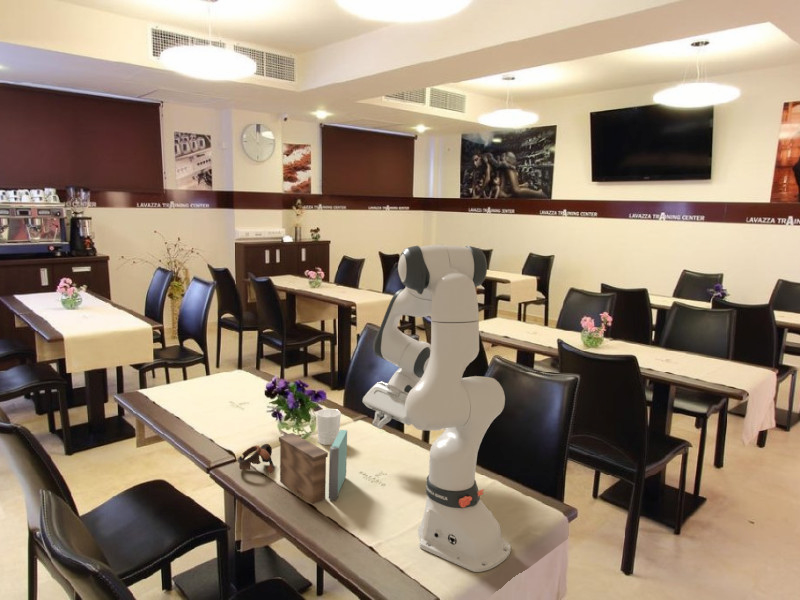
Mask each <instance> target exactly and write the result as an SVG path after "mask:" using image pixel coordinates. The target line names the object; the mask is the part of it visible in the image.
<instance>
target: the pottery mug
mask: <svg viewBox="0 0 800 600" xmlns="http://www.w3.org/2000/svg"><path fill="white" fill-rule="evenodd" d="M272 453H273V448H272V446H271V445H270V444H269V443H265V444H262V445H261V446H260V445H253V446H250V447H249V448H247V449H246V450H244V451H243V452H242V454H241V455H240V456H239V457H238V458H237V463H238V464H239V465H238V467H239V469H240V470H245V469H247V470H250V471H251V464H253V465H260V464H261V463H262V462H263V463H269V465H268V466H267V468H266V470H267V472H268V475H269V474H270V475H272V474H273V472H274V470H275V465H274V463H273V460H272V455H273V454H272ZM251 454H252V455H251ZM249 455H251V456H249ZM248 456H249V457H248ZM247 457H248V458H247ZM260 458H261V460H262V462H261V460H260Z"/></svg>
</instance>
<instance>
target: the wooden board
mask: <svg viewBox="0 0 800 600" xmlns="http://www.w3.org/2000/svg"><path fill="white" fill-rule="evenodd" d="M278 442H280V443H279V448H280V449H279V450H280V451H279V452H280V457H279V459H280V460H279V461H280V462H279V466H280V467H279V481H280V482H281V483H282V482H283V483H282V484H284V486H287V487H288V488H289V489H291V490H292V491H293V492H295V493H297V494H298V495H300V496H301V497H303V498H304V499H306V501H308V502H310V503H311V504H316V503H318V502H321V501H323V500H325V499H326V483H327V482H326V479H327V476H326V475H327V473H326V472H327V458H329V456H328V455H329V453H328V452H329V451H328V452H327V451H325V450H324V449H323V448H320V447H319V446H317V445H315V444H313V443H312V442H310V441H308V440H306V439H304V438H303V437H300V436H299V435H298V434H295V433H294V432H292V433H287V434H284V435H282V436H278Z"/></svg>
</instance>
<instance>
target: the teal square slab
mask: <svg viewBox="0 0 800 600" xmlns="http://www.w3.org/2000/svg"><path fill="white" fill-rule="evenodd" d="M347 448H348V430H347V429H339V433H338V435H337V437H336V439H335V441H334V443H333V444H332V445H330V447H329V456H328V458H329V464H328V465H329V467H328V499H329V500H330V501H331V500H332V501H333V500H334V501H335V500H337V499H338V498H339V494H340V491H341V488H342V487H343V484H344V481H345V480H346V477H347V455H348V453H347V452H348V451H347V450H348V449H347Z"/></svg>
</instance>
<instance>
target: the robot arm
mask: <svg viewBox="0 0 800 600" xmlns="http://www.w3.org/2000/svg"><path fill="white" fill-rule="evenodd" d="M397 271H398V276H399V279H400V282H401V284H403V286H405V288H401V289H398V291H396V292H395V293H394V295H393V296H392V298H391V299H390V301H389V304H388V306H387V308H386V311H385V314H384V316H383V319H382V321H381V324H380V327H379V329H378V331H377V333H376V335H375V336H374V339H373V342H372V349H373V352H374V354H375V355H374V356H376V357H377V358H379V359H383V360H384V361H387V362H389V363H391V364H392V365H394V366H396V367H397V368H398V369H397V370H395V371H394V373H393V374H392V376H391V378H390V379H389V381H388V382H385V381H379V382H376V383H375V384H374V385H373V386H372V387H370V389H369V390H368V391H367V392H366V393H365V395H364V396H363V397H362V403H363V404H364V405H365V407H366V408H367V409H371V410H372V411H375V412H374V419H373V420H372V423H371V424H372V425H373V426H374V427H375V428H378V429H379V430H381V429H382V428H383V427H384V426H385V425H387V424H388V423H389V422H391V420H392V419H393V420H395V421H398V422H399V423H402V424H404V425H406V426H413V428H415V429H416V430H419V431H430V432H431V431H432V432H433V431H434V432H436V431H437V432H438V431H442V430H444V431H443V432H442V433H441V435H440V436H438V437H437V438H436V439H435V440H434V441H433V443H432V444H431V446H430V449H429V463H428V464H429V465H428V475H427V478H426V482H425V483H426V484H425V494H426V502H425V508H424V513H423V517H422V520H421V523H420V526H419V529H418V535H419V537H420V541H419V548H420V549H421V550H424V551H426V552H428V553H430V554H433V555H435V556H438V557H439V558H442V559H444V560H446V561H448V562H450V563H452V564H455V565H457V566H460V567H461V568H464V569H466V570H469V571H471V572H474V573H481V572H485V571H489V570H491V569H493V568H495V567H497V566H499V565H500V564H501V563H503V562H504V561H505V560H506V559H507V558H508V557H509V556H510V554H511V551H512V550H511V544H510V543H509V541H506V540H505V539H504V538H503V537H502V530H501V525H500V523H499V521H498V520H497V519H496V518H495V517H494V514H493V512H492V511H491V510H489V508H488V507H487V506H486V505H485V504H484V503H483V501H482V500H481V496H482V495H484V490H485V489H483V488H482V489H481V490H479V488H478V484H477V480H476V470H477V460H478V459H477V458H478V452H479V450H480V446H481V443H482V441H483V438H484V436H485V434H486V433H487V430H488V429H489V427H490V425H491V424H492V423H493V422H494V420H495V419H497V417H498V416H499V415H501V413H502V412H503V411H504V408H505V404H506V403H505V402H506V396H505V391H504V389H503V387H502V385H501V384H500V382H499V381H497V379H496V378H494V377H489V376H479V375H478V376H477V375H474V376H468V377H463V375H464V372H465V371H466V368H467V367H468V366H469V365H470V363H472V362H473V361H474V360H475V359H476V358H477V357H478V356H479V352H480V325H479V324H480V321H479V320H480V314H479V313H480V312H479V304H478V295H477V291H476V290H477V289H476V287H479V286H481V285H482V284H483V283H484V281H485V280H486V277H487V271H488V263H487V258H486V255H485V253H484V252H483V251H482V249H480V248H479V247H475V246H471V245H466V246H461V245H459V246H458V245H444V244H430V245H423V246H422V245H421V246H419V245H413V246H410V247H406V248H404V249H403V250H402V252H401V253H400V256H399V260H398V264H397ZM402 316H410V317H416V318H424V317H425V318H426V317H430V319H431V321H430V322H431V323H430V327H431V328H430V330H431V332H430V333H431V334H430V337H431V338H430V343H429V342H427V341H425V340H424V341H423V340H420V341H419V340H417V339H415V338H413V337H411V336H410V335H407V334H406V333H403V332H402V331H401V330H400V329H399V328H398V326H399V323H400V322H401V321H400V320H401V318H402Z"/></svg>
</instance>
